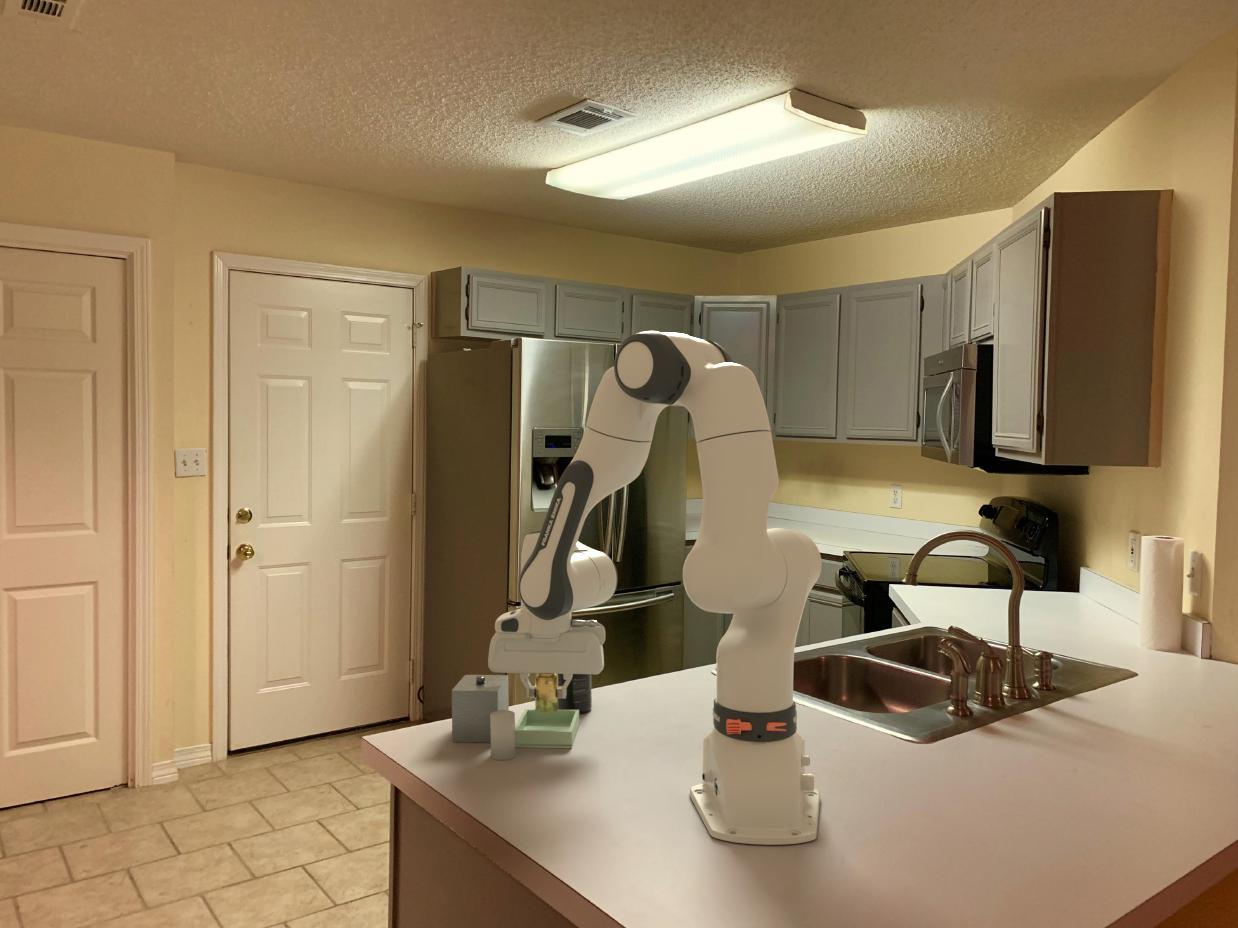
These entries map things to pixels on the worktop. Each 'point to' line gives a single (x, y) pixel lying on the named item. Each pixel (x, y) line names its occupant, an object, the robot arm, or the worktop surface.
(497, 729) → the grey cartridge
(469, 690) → the box
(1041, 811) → the worktop surface
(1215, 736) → the worktop surface
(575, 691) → the supplement bottle
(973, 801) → the worktop surface
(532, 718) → the tray
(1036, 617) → the worktop surface
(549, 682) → the brass fitting
